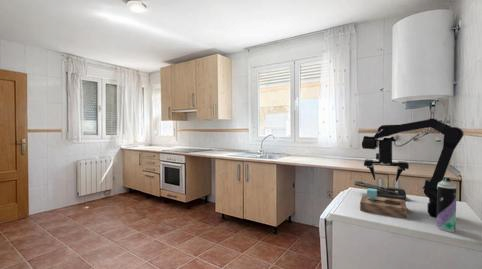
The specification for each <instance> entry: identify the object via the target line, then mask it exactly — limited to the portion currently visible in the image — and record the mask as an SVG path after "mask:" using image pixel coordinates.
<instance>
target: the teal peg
mask: <svg viewBox="0 0 482 269" xmlns="http://www.w3.org/2000/svg"><path fill="white" fill-rule="evenodd" d="M366 195H367V197H369V198H370V200H372V201H374V198H376V199H377V189H371V188H366Z"/></svg>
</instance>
